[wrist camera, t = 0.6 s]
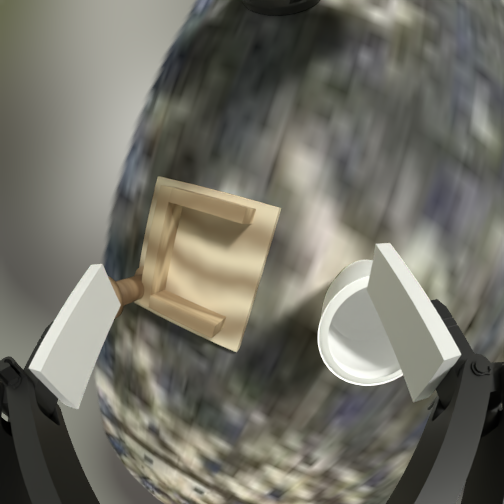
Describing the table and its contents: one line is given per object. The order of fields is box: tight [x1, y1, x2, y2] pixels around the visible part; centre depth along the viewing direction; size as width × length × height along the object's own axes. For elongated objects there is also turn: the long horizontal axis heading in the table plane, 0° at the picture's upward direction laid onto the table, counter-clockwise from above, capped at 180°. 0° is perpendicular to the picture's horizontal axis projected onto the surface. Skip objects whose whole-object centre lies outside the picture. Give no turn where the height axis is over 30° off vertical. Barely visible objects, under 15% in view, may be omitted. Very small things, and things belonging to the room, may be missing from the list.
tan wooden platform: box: [108, 176, 281, 352], centre depth 35 cm, size 22×20×12 cm
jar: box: [318, 260, 403, 386], centre depth 27 cm, size 11×10×15 cm
